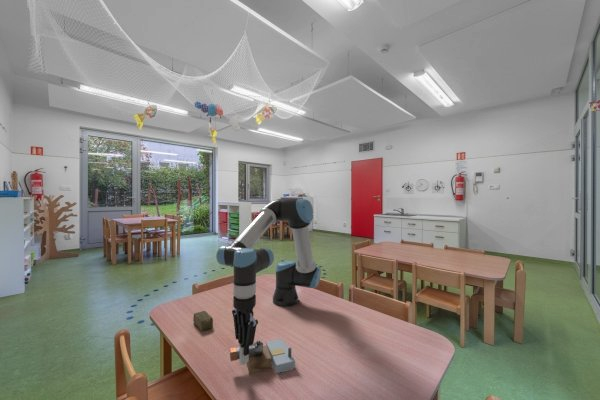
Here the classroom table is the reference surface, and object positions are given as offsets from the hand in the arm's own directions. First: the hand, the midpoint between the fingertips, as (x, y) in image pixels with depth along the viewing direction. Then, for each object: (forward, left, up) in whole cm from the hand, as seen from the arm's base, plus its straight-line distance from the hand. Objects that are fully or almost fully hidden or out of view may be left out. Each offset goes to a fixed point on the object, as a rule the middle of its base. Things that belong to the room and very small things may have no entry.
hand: (244, 362), depth 87 cm
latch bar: (-2, -5, -1) cm, 5 cm away
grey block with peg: (-14, -5, -5) cm, 16 cm away
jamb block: (-6, -5, -5) cm, 9 cm away
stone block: (+13, -42, -6) cm, 44 cm away
